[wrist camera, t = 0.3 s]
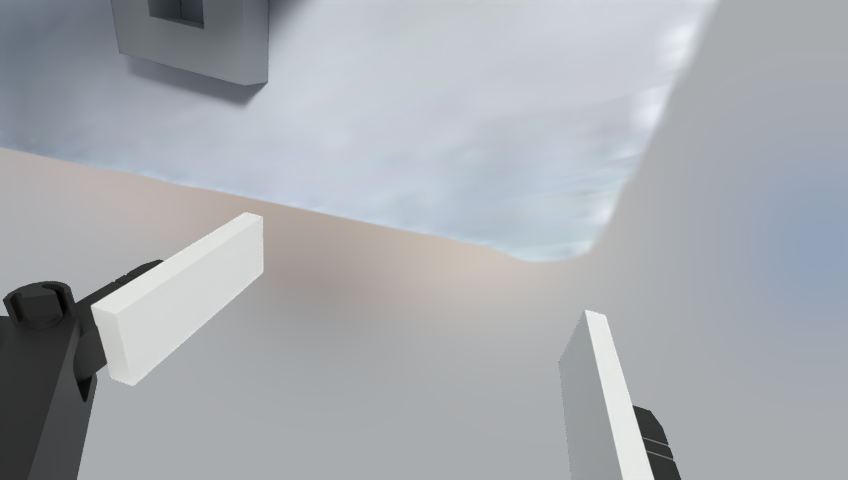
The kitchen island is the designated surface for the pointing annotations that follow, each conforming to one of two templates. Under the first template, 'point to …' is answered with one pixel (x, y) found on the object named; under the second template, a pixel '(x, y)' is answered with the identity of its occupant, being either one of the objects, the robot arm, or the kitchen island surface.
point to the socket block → (198, 37)
